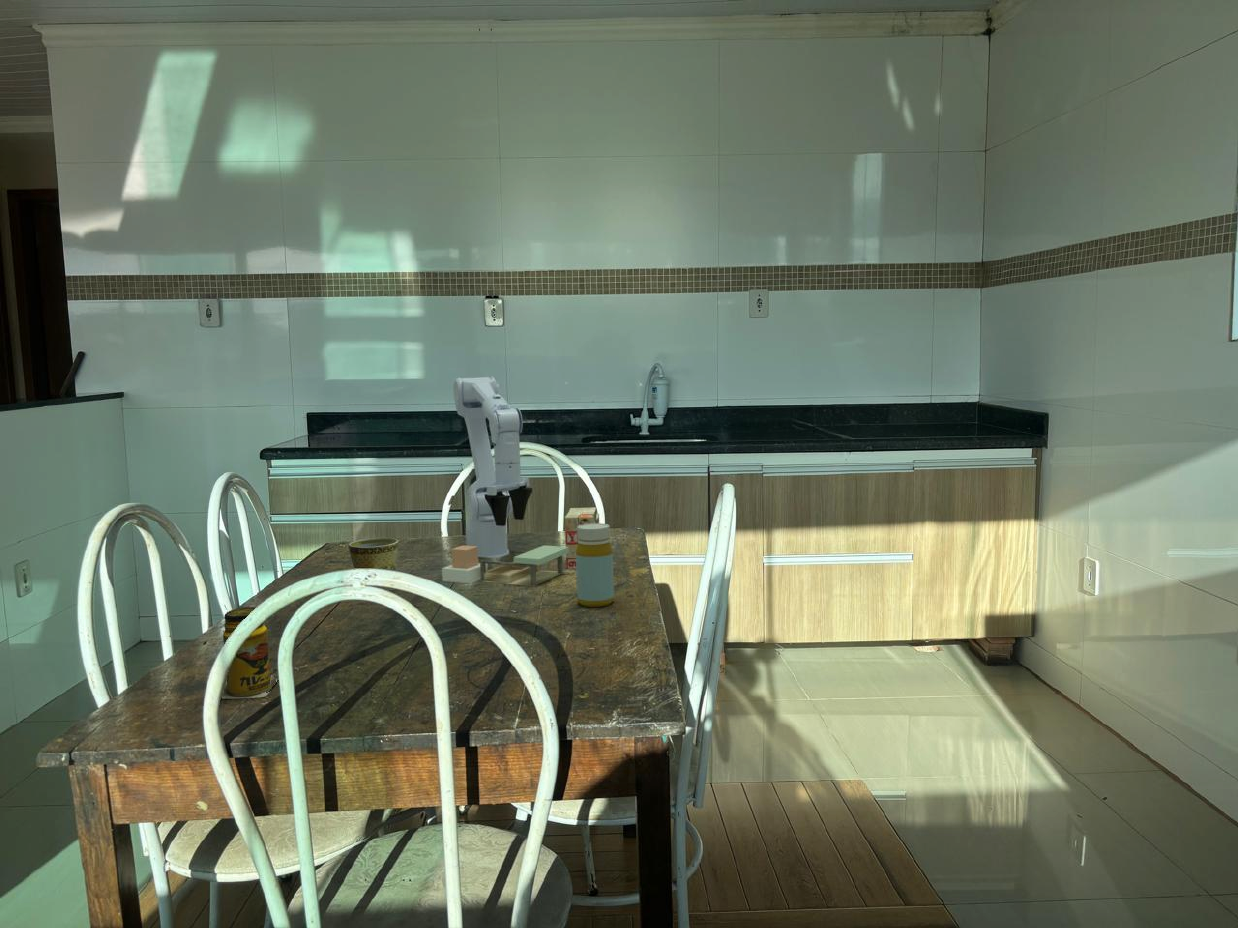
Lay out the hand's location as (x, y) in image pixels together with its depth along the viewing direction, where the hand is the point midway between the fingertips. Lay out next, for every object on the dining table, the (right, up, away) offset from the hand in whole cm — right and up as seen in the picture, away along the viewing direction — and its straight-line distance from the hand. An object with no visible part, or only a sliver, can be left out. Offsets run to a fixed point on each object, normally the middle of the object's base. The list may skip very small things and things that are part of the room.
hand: (510, 522), depth 213 cm
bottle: (+20, -14, -31) cm, 40 cm away
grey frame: (+4, -11, -9) cm, 15 cm away
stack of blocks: (+17, -10, +7) cm, 20 cm away
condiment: (-31, -20, -74) cm, 83 cm away
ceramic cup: (-27, -13, -14) cm, 33 cm away
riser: (-9, -12, -9) cm, 17 cm away
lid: (+8, -7, -12) cm, 16 cm away
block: (-9, -9, -10) cm, 16 cm away
